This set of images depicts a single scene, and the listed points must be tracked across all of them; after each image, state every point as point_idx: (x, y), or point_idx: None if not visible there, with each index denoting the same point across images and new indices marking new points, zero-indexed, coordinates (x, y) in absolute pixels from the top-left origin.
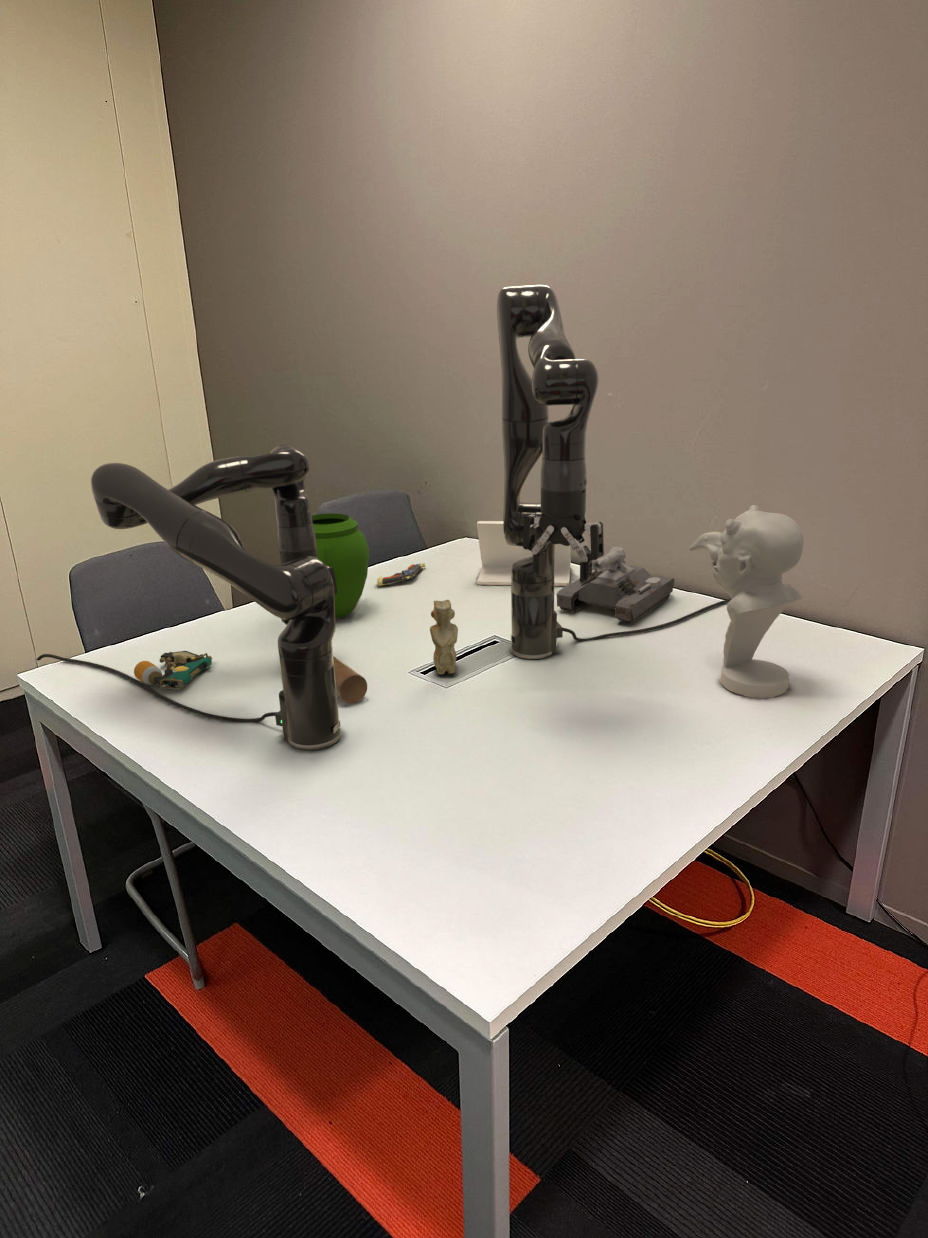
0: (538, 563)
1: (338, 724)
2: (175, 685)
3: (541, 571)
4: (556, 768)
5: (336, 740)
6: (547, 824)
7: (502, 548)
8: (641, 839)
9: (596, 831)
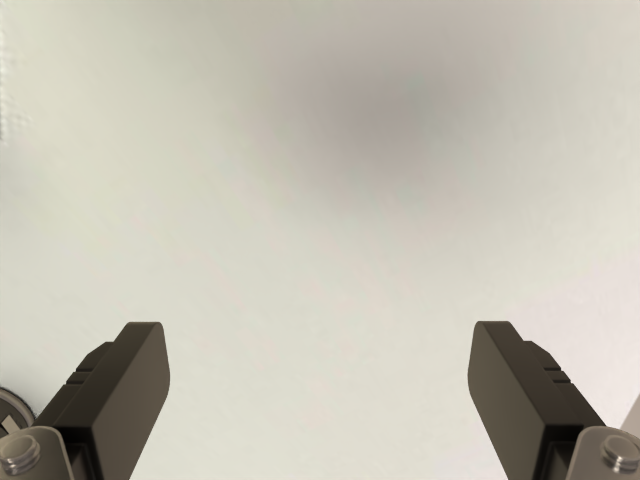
0: (135, 452)
1: (8, 426)
2: None
3: (160, 371)
4: (396, 311)
5: (30, 417)
6: (446, 431)
7: None
8: None
9: None
